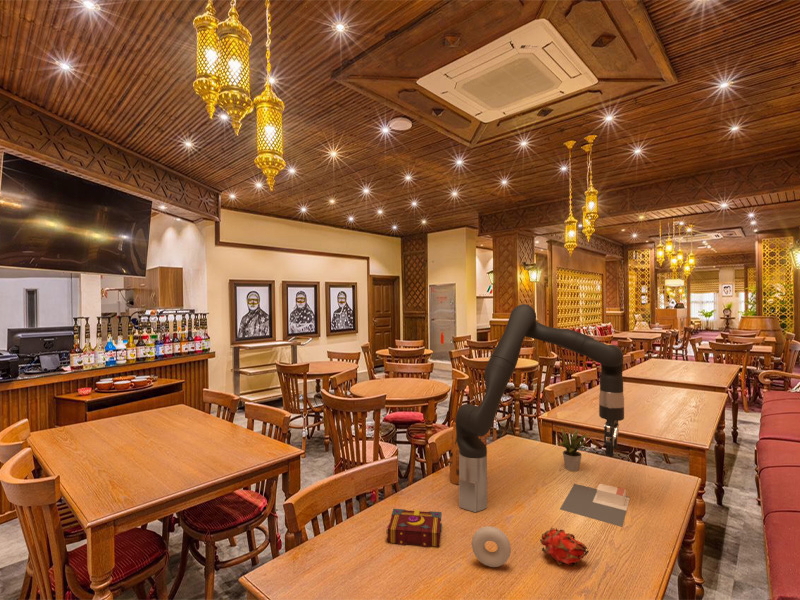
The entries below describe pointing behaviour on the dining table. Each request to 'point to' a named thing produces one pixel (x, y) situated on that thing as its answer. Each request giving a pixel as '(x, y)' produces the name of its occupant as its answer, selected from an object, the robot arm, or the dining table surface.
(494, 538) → the donut
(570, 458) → the house plant
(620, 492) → the card box
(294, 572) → the dining table surface
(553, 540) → the dragon fruit
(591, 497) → the mat
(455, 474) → the coffee package
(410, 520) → the decorative book
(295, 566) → the dining table surface
